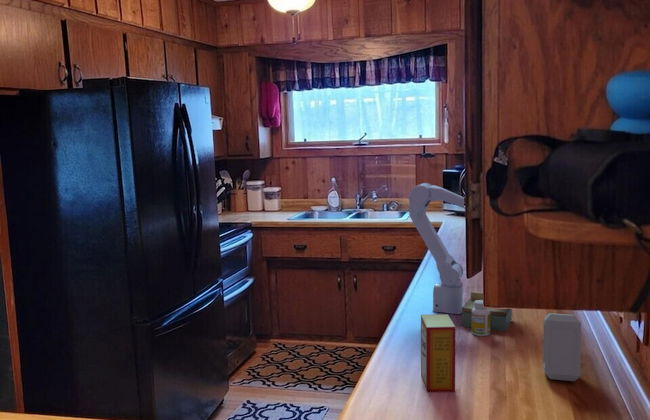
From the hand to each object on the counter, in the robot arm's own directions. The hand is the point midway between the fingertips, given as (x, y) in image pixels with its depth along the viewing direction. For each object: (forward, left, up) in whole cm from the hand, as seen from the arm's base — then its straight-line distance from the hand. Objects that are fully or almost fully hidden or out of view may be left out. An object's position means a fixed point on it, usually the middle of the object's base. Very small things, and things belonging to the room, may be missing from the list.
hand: (496, 285), depth 191 cm
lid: (-1, -10, -5) cm, 11 cm away
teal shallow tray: (-1, -10, -10) cm, 14 cm away
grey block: (+21, -34, -10) cm, 42 cm away
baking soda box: (-4, -59, -10) cm, 60 cm away
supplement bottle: (-1, -20, -10) cm, 22 cm away
